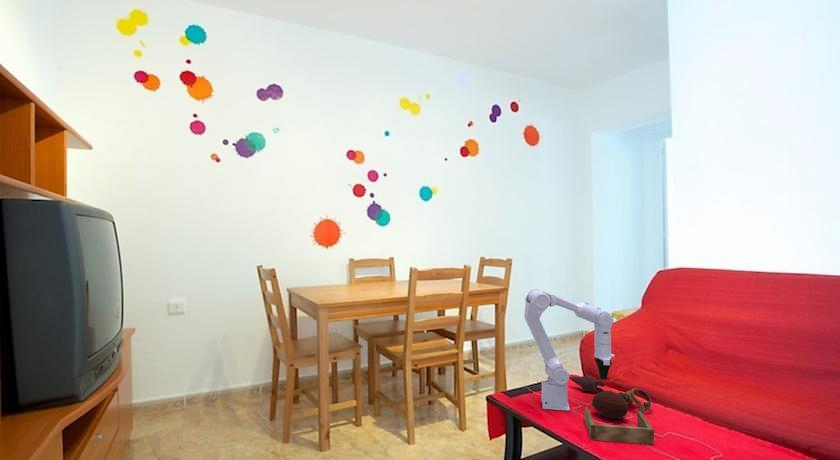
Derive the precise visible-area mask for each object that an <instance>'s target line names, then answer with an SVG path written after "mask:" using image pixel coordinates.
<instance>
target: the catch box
mask: <svg viewBox="0 0 840 460" xmlns="http://www.w3.org/2000/svg"><path fill="white" fill-rule="evenodd" d="M583 412H584V422H585V425H586V428H587V431H588V433H589V437H590V439H591V440H595V441H605V442H616V443H617V442H618V443H629V444H638V445H639V444H640V443H641V444H642V445H651V444H652V445H653V446H654V445H655V429H654V428H653V426H652V425H651V424H650V422H649V421H648V419H647V418H646V416H645V415H644V414H643V413H642V412H641V411H638V410H636V423H637V424H638V425H637V426H627V425H615V424H604V423H602V424H601V423H595V421H594V418H593V417H592V413H591V411H590V409H589V407H584V411H583Z"/></svg>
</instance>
